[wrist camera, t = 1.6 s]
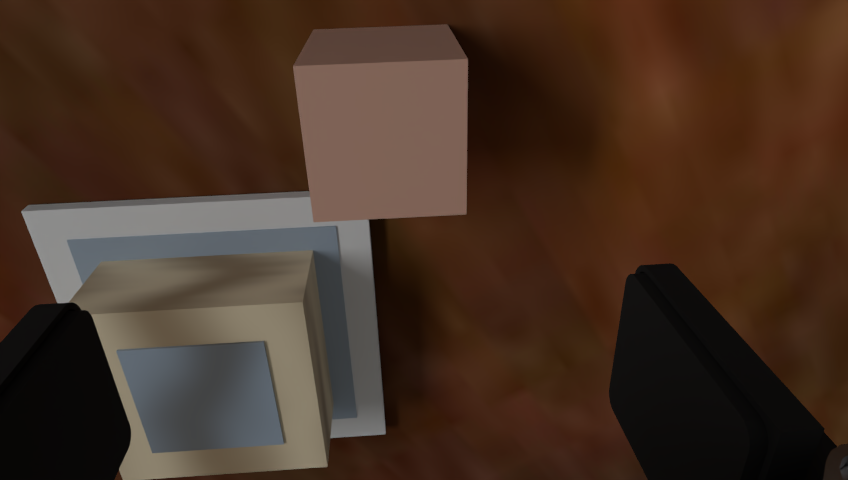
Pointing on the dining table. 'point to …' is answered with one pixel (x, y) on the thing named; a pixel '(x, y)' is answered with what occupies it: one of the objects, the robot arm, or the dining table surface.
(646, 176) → the dining table surface
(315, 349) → the plinth
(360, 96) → the block
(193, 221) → the board
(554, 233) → the dining table surface
